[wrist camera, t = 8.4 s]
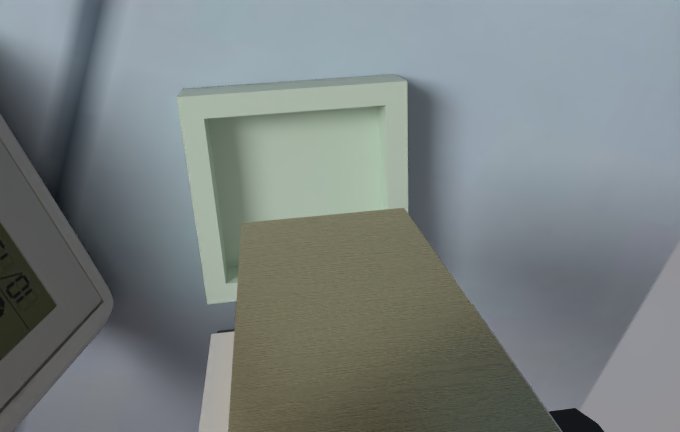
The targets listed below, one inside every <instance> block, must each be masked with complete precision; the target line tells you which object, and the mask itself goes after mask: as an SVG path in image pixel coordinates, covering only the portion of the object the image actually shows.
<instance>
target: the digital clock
mask: <svg viewBox="0 0 680 432" xmlns="http://www.w3.org/2000/svg"><path fill="white" fill-rule="evenodd" d="M113 305H114V301H113V297H112V294H111V292H110V290H109V288H108V286H107V285H106V283H105V281H104V280H103V278H102V276H101V275H100V273H99V271H98V270H97V268H96V266H95V265H94V263H93V261H92V260H91V258H90V257H89V255H88V253H87V252H86V250H85V248H84V247H83V245H82V244H81V242H80V240H79V239H78V237H77V236H76V234H75V232H74V231H73V229H72V228H71V226H70V224H69V223H68V221H67V220H66V218H65V216H64V215H63V213H62V212H61V210H60V208H59V207H58V205H57V204H56V202H55V200H54V199H53V197H52V196H51V194H50V192H49V191H48V189H47V188H46V186H45V184H44V183H43V181H42V180H41V178H40V176H39V175H38V173H37V172H36V170H35V168H34V167H33V165H32V164H31V162H30V160H29V159H28V157H27V156H26V154H25V152H24V151H23V149H22V148H21V146H20V144H19V143H18V141H17V140H16V138H15V136H14V135H13V133H12V132H11V130H10V128H9V127H8V125H7V124H6V122H5V120H4V119H3V117H2V116H1V114H0V432H13V431H14V430H15V428H16V427H17V426H18V425H19V424H20V423H21V421H22V420H23V419H24V418H25V417H26V416H27V415H28V413H29V412H30V411H31V410H32V409H33V408H34V407H35V405H36V404H37V403H38V402H39V401H40V400H41V398H42V397H43V396H44V395H45V394H46V393H47V392H48V390H49V389H50V388H51V387H52V386H53V385H54V384H55V382H56V381H57V380H58V379H59V378H60V377H61V375H62V374H63V373H64V372H65V371H66V370H67V369H68V367H69V366H70V365H71V364H72V363H73V362H74V361H75V359H76V358H77V357H78V356H79V355H80V354H81V352H82V351H83V350H84V349H85V348H86V347H87V346H88V344H89V343H90V342H91V341H92V340H93V339H94V338H95V336H96V335H97V334H98V333H99V332H100V331H101V329H102V328H103V327H104V325H105V324H106V323H107V321H108V319H109V317H110V315H111V312H112V309H113Z"/></svg>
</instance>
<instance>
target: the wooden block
mask: <svg viewBox="0 0 680 432" xmlns="http://www.w3.org/2000/svg"><path fill="white" fill-rule="evenodd" d="M228 432H561V431H560V430H559V428H558V427H557V425H556V424H555V423H554V421H553V420H552V418H551V417H550V415H549V414H548V413H547V411H546V410H545V408H544V407H543V405H542V404H541V403H540V401H539V400H538V398H537V397H536V395H535V394H534V393H533V391H532V390H531V388H530V387H529V385H528V384H527V383H526V381H525V380H524V378H523V377H522V375H521V374H520V373H519V371H518V370H517V368H516V367H515V365H514V364H513V363H512V361H511V360H510V358H509V357H508V355H507V354H506V353H505V351H504V350H503V348H502V347H501V345H500V344H499V343H498V341H497V340H496V338H495V337H494V335H493V334H492V333H491V331H490V330H489V328H488V327H487V325H486V324H485V323H484V321H483V320H482V318H481V317H480V315H479V314H478V313H477V311H476V310H475V308H474V307H473V305H472V304H471V303H470V301H469V300H468V298H467V297H466V295H465V294H464V293H463V291H462V290H461V288H460V287H459V285H458V284H457V283H456V281H455V280H454V278H453V277H452V275H451V274H450V273H449V271H448V270H447V268H446V267H445V265H444V264H443V263H442V261H441V260H440V258H439V257H438V255H437V254H436V253H435V251H434V250H433V248H432V247H431V245H430V244H429V243H428V241H427V240H426V238H425V237H424V235H423V234H422V233H421V231H420V230H419V228H418V227H417V225H416V224H415V223H414V221H413V220H412V218H411V217H410V215H409V214H408V213H407V211H406V210H405V208H396V209H385V210H374V211H364V212H353V213H342V214H331V215H321V216H310V217H299V218H289V219H278V220H267V221H256V222H246V223H241V237H240V253H239V268H238V284H237V300H236V315H235V331H234V347H233V362H232V378H231V394H230V409H229V425H228Z"/></svg>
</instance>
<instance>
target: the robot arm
mask: <svg viewBox="0 0 680 432" xmlns="http://www.w3.org/2000/svg"><path fill="white" fill-rule="evenodd" d="M473 307H474V308H475V306H474V305H473ZM475 310H476V311H477V309H476V308H475ZM477 313H478V314H479V312H478V311H477ZM479 315H480V314H479ZM480 317H481V318H482V316H481V315H480ZM482 320H483V321H484V319H483V318H482ZM484 323H485V324H486V325H487V323H486V322H485V321H484ZM487 327H488V328H489V326H488V325H487ZM489 330H490V331H491V329H490V328H489ZM491 333H492V334H493V335H494V333H493V332H492V331H491ZM494 337H495V338H496V336H495V335H494ZM496 340H497V341H498V339H497V338H496ZM498 343H499V344H500V345H501V343H500V342H499V341H498ZM233 347H234V332H225V333H216V334H211V340H210V348H209V355H208V363H207V371H206V378H205V386H204V393H203V401H202V409H201V416H200V424H199V431H198V432H228V425H229V409H230V394H231V378H232V362H233ZM501 347H502V348H503V346H502V345H501ZM503 350H504V351H505V353H506V354H507V355H508V353H507V352H506V350H505V349H504V348H503ZM508 357H509V358H510V356H509V355H508ZM510 360H511V361H512V363H513V364H514V365H515V363H514V362H513V360H512V359H511V358H510ZM515 367H516V368H517V366H516V365H515ZM517 370H518V371H519V373H520V374H521V375H522V373H521V372H520V370H519V369H518V368H517ZM522 377H523V378H524V376H523V375H522ZM524 380H525V381H526V383H527V384H528V385H529V383H528V382H527V380H526V379H525V378H524ZM529 387H530V388H531V390H532V391H533V393H534V394H535V395H536V393H535V392H534V390H533V389H532V387H531V386H530V385H529ZM536 397H537V398H538V400H539V401H540V403H541V404H542V405H543V403H542V402H541V400H540V399H539V397H538V396H537V395H536ZM543 407H544V408H545V410H546V411H547V413H548V414H549V415H550V417H551V418H552V420H553V421H554V423H555V424H556V425H557V427H558V428H559V430H560V431H561V432H604V431H603V430H602V428H601V427H600V426H599V425H598V424H597V423H596V422H595V421H593V420H592V419H590V418H589V417H587V416H585V415H584V414H583V413H581V412H580V411H578V410H577V409H575V408H573V409H565V410H558V411H550V412H548V410H547V409H546V407H545V406H544V405H543Z"/></svg>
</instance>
